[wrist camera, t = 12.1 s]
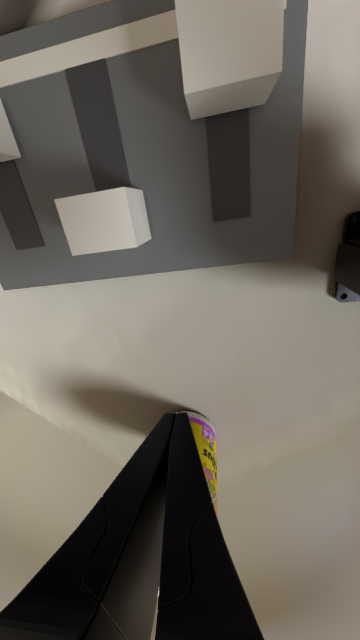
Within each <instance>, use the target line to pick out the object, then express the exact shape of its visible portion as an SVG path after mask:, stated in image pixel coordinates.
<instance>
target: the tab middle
mask: <svg viewBox="0 0 360 640" xmlns="http://www.w3.org/2000/svg"><path fill="white" fill-rule="evenodd" d="M54 201H55V204H56V207H57V210H58V213H59V217H60V220H61V223H62V226H63V229H64V232H65V235H66V238H67V241H68V244H69V247H70V250H71V253H72V256H76V255H83V254H91V253H98V252H106V251H113V250H121V249H128V248H136V247H138V246H140V245H142V244H144V243H145V242H147V241H149V240H150V239H151V233H150V228H149V222H148V217H147V211H146V206H145V200H144V195H143V190H139V189H133V188H128V187H121V188H115V189H109V190H104V191H98V192H93V193H87V194H82V195H76V196H70V197H65V198H59V199H54Z"/></svg>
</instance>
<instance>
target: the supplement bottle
mask: <svg viewBox="0 0 360 640" xmlns="http://www.w3.org/2000/svg"><path fill="white" fill-rule="evenodd" d="M181 412H187V413H188V416H189V419H190V423H191V426H192V430H193V433H194V437H195V441H196V444H197V448H198V451H199V455H200V458H201V462H202V466H203V469H204V473H205V476H206V480H207V483H208V487H209V491H210V494H211V498H212V502H213V504H214V508H215V511H216V515H217V458H216V433H215V429H214V427H213V425H212V424H211V423H210V422H209V421H208V420H207V419H206V418H205V417H203V416H201V415H199V414H197V413H194V412H189V411H181ZM175 413H178V412H175ZM158 597H159V590H158Z"/></svg>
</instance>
